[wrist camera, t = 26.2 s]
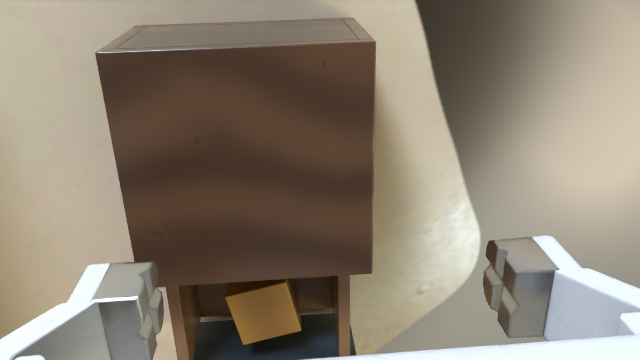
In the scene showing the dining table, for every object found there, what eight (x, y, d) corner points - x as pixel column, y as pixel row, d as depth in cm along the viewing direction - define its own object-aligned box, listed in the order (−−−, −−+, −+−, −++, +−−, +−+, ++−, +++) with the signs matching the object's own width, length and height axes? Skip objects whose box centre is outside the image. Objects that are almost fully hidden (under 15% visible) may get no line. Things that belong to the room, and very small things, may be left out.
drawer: (348, 377, 49) (359, 446, 43) (196, 389, 49) (184, 461, 42) (347, 177, 41) (361, 224, 35) (165, 187, 41) (144, 236, 34)
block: (245, 308, 44) (243, 345, 40) (229, 263, 42) (224, 297, 38) (299, 294, 44) (301, 331, 40) (284, 249, 42) (285, 282, 38)
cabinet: (353, 209, 44) (372, 274, 35) (165, 220, 43) (139, 289, 34) (353, 17, 38) (376, 41, 29) (134, 25, 37) (94, 52, 28)
